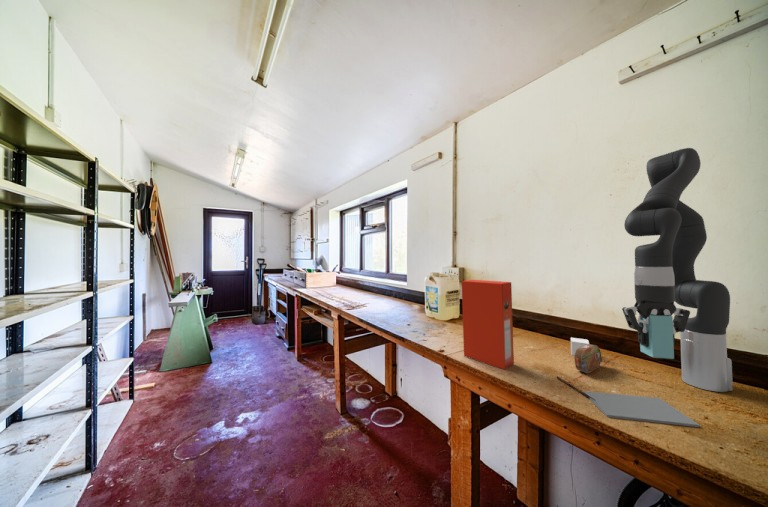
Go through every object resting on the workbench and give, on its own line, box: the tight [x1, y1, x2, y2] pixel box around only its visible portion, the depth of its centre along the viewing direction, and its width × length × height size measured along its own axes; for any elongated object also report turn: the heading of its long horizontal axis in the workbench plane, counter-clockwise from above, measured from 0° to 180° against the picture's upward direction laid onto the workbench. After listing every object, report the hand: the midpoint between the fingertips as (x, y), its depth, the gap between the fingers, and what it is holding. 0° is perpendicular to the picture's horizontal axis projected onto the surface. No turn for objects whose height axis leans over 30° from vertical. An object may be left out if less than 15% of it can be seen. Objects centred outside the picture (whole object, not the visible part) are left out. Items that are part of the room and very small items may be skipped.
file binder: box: [461, 279, 515, 370], centre depth 104 cm, size 8×17×32 cm, turn 38°
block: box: [638, 313, 675, 360], centre depth 69 cm, size 4×4×11 cm
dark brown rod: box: [556, 376, 596, 401], centre depth 80 cm, size 15×1×1 cm, turn 4°
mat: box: [582, 390, 701, 428], centre depth 70 cm, size 19×12×1 cm, turn 76°
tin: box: [573, 343, 602, 374], centre depth 94 cm, size 15×3×8 cm, turn 120°
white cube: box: [570, 337, 590, 357], centre depth 108 cm, size 6×6×6 cm
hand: (656, 346), depth 69 cm, fingers closed on block, 4 cm apart
